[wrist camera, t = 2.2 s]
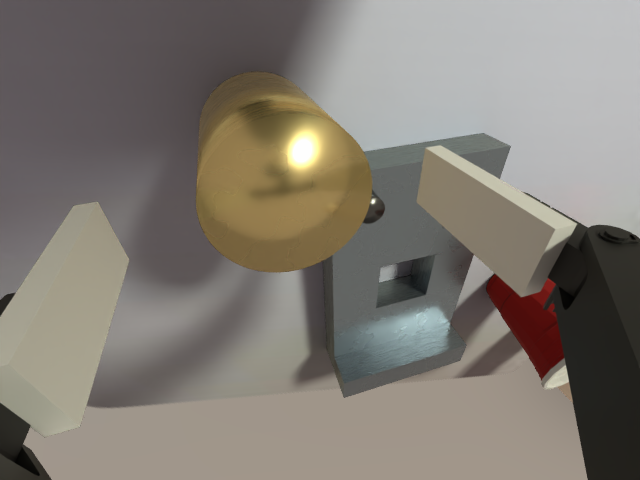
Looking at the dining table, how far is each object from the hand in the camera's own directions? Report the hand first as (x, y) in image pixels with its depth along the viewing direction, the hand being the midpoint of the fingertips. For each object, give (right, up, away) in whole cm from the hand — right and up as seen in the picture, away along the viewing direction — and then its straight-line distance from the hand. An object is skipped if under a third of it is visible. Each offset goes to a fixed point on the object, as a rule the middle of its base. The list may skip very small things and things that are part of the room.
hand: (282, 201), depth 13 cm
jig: (+9, -4, +18) cm, 21 cm away
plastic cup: (+25, -7, +27) cm, 37 cm away
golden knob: (-3, +6, +7) cm, 10 cm away
